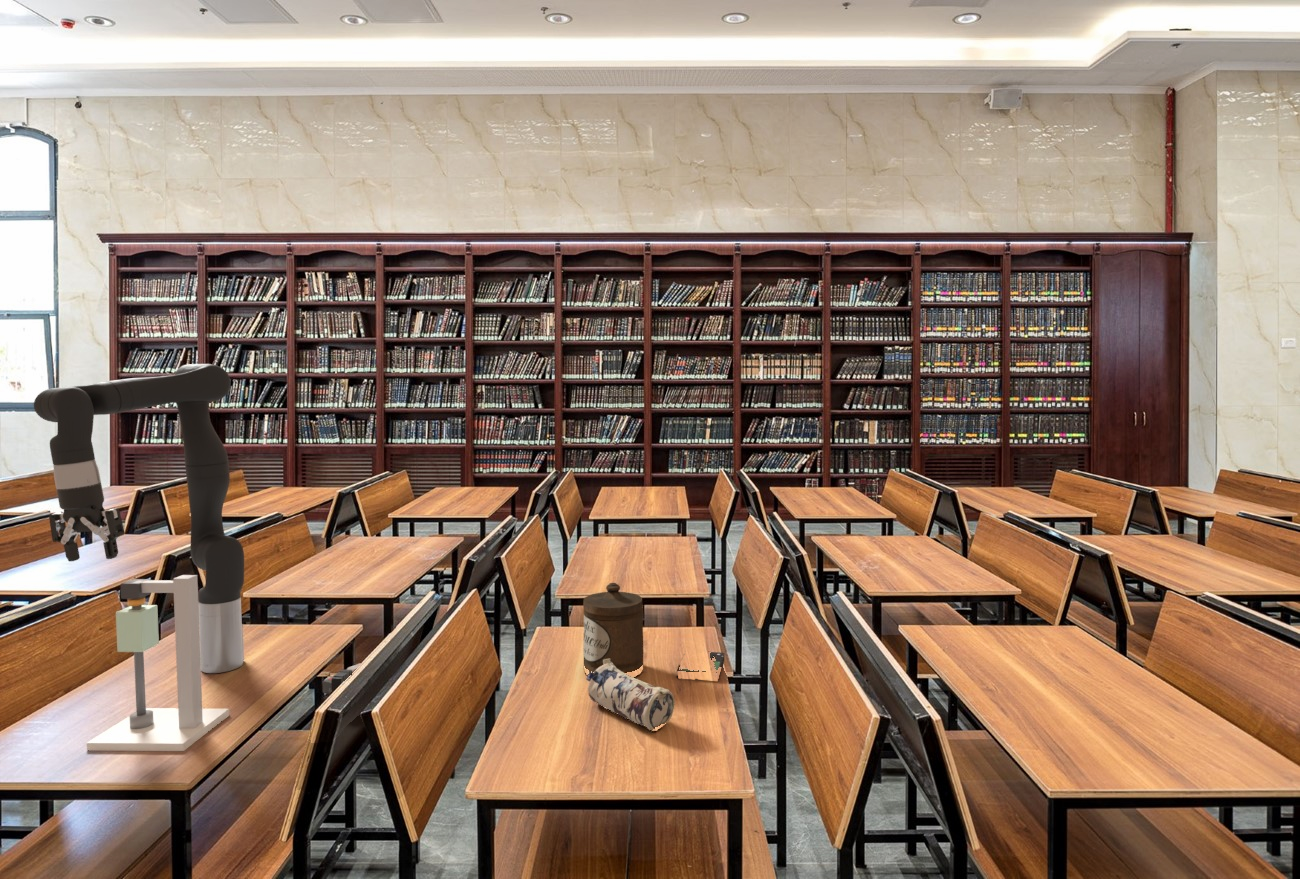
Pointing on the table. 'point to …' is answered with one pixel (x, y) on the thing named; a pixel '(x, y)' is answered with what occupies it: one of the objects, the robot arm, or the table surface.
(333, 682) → the ink cartridge
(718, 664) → the disk drive
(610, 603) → the wooden container
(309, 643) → the table surface
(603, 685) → the pencil case
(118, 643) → the pale green block
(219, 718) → the sliding block stand
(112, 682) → the table surface
